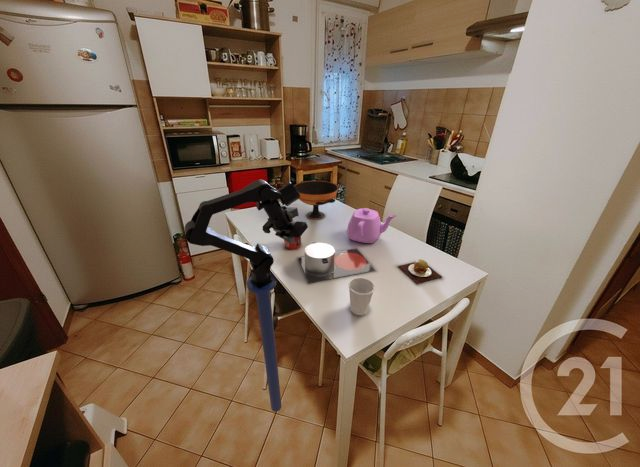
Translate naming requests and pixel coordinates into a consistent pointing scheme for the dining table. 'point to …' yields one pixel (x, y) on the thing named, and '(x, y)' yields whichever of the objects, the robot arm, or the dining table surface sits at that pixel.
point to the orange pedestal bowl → (316, 195)
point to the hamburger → (419, 271)
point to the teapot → (366, 225)
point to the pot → (319, 258)
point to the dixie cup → (360, 295)
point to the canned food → (296, 244)
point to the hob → (341, 266)
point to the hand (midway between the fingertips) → (293, 243)
